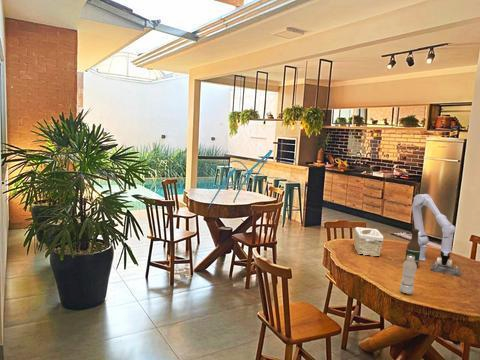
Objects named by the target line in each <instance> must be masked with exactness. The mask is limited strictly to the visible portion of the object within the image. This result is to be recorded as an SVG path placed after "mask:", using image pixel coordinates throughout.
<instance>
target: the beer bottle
mask: <svg viewBox="0 0 480 360" xmlns="http://www.w3.org/2000/svg"><path fill="white" fill-rule="evenodd" d="M418 232H419V230H418V229H415V228H413V229H412V235H411V238H410V242H408V244H407V246H406V249H405V250H406V251H405V260H404V262H405V261H406V260H407V255H414V256H415V260H414V261H415V263H416V265H417V268H418V267H419V263H420V260H419V256H420V245H419V243H418Z"/></svg>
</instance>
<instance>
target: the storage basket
mask: <svg viewBox="0 0 480 360" xmlns="http://www.w3.org/2000/svg"><path fill="white" fill-rule="evenodd" d="M383 243H384V235H383V234H382V233H381V232H380V231H379V230H378V229H377V228H369V227H359V226H356V227H355V228H354V243H353V245H354V246H355V247H354V249H355V251H356V253H357V255H359V254H363V255H362V256H365V255H372V256H371V257H373V256H379V257H380V255H381V252H382V251H381V250H382V245H383Z"/></svg>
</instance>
